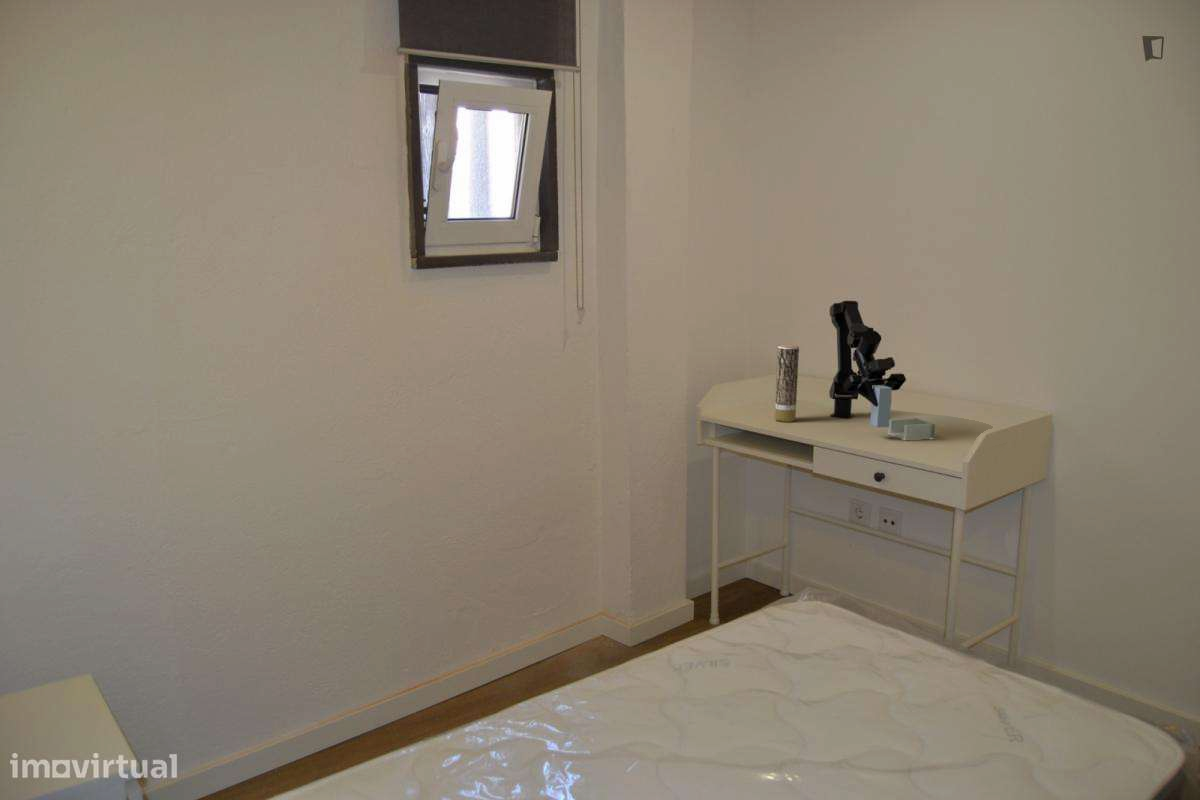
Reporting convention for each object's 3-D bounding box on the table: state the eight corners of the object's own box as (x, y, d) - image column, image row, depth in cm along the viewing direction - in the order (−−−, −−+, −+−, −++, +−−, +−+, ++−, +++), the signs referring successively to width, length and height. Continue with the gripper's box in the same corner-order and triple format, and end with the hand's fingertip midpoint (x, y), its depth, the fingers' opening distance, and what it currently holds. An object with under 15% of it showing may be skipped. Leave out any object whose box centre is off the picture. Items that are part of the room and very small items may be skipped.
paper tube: (796, 419, 293) (800, 345, 289) (794, 423, 287) (797, 347, 282) (776, 417, 296) (779, 344, 291) (773, 421, 289) (776, 346, 285)
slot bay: (904, 440, 264) (905, 425, 263) (887, 433, 273) (888, 419, 272) (933, 439, 266) (935, 424, 265) (915, 432, 275) (917, 418, 274)
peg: (870, 424, 268) (872, 386, 265) (881, 424, 269) (884, 385, 266) (877, 427, 264) (879, 388, 262) (889, 426, 265) (891, 387, 263)
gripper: (850, 348, 263) (866, 391, 255) (905, 347, 268) (923, 389, 259) (835, 370, 272) (851, 412, 264) (889, 368, 277) (906, 409, 268)
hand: (883, 405), depth 264 cm, fingers closed on peg, 4 cm apart
